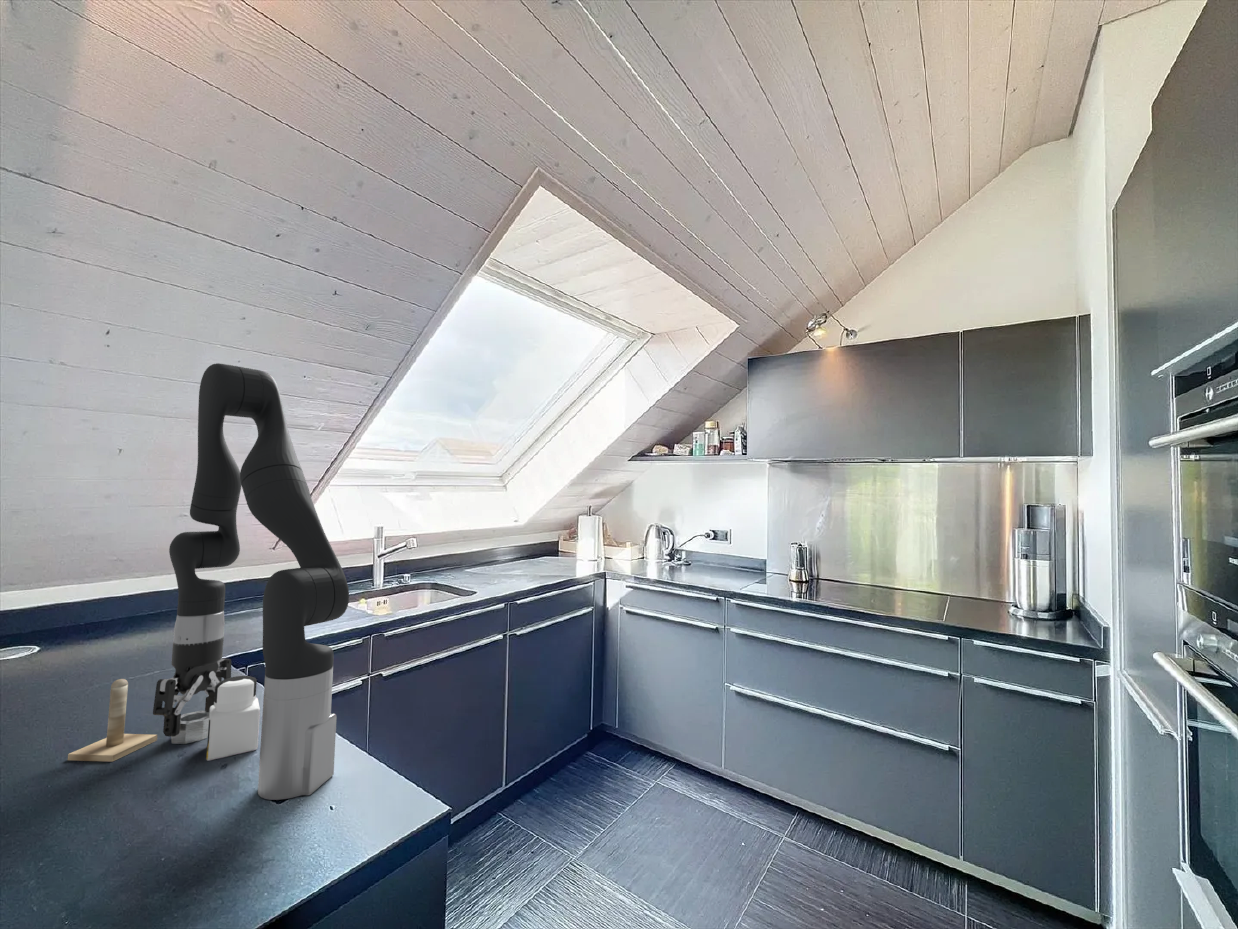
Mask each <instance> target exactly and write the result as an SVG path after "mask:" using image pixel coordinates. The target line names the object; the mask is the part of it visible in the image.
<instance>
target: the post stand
mask: <svg viewBox="0 0 1238 929" xmlns="http://www.w3.org/2000/svg"><path fill="white" fill-rule="evenodd" d="M128 689H129V682H128V680H126V679H125V678H120V679H115V680H114V681H113V682H112V683H111V686H110V691H109V692H110V694H109V705H108V706H109V707H108V715H107V716H108V720H107V729H106V737H105V738H103V739H100V740H98V741H95V742H93V743H91V744H88V745H86V746H84V747H82V748H79V749H76V750H73V751H72V752H70V753H68V754H67V761H78V762H79V761H81V762H83V761H84V762H114V761H117V760H119V759H121V758H123V757H126V756H127V755H129V754H131V753H135V752H136V751H139V750H140V749H142V748H144V747H146V746H148V745H151V744H152V743H155V742H157V741H158V734H146V733H144V734H143V733H136V734H135V733H125V725H126V714H127V713H126V712H127V701H128Z"/></svg>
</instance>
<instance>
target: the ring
mask: <svg viewBox="0 0 1238 929" xmlns="http://www.w3.org/2000/svg"><path fill="white" fill-rule="evenodd" d="M209 712H210V711H205V710H198V711H192V712H187V713H184V714H183V713H182V714H181V720H180V733H179V734H178V735H176V736H174V737H171V736H170V737H171V744H178V745H179V744H181V745H186V744H190V743H195V742H200V741H203V740H204V739H208V727H209Z"/></svg>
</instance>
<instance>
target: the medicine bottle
mask: <svg viewBox="0 0 1238 929" xmlns="http://www.w3.org/2000/svg"><path fill="white" fill-rule="evenodd" d="M257 680H258V679H257V678H256V677H253V676H250V675H237V676H231V678H228V679H225V680H224V679H223V680H222V681H221V682H219V683H218V684H217V685H216V686H215V698H214V705H212V706H211V707H210V712H209V727H208V737H207V743H206V745H207V746H206V761H215V760H216V759H217V760H218V759H223V758H227V757H231V756H235V755H240V754H244V753H249V752H253V751H256V750H258V746H259V734H260V733H259V730H260V716H261V715H260V714H261V713H260V712H261V707H260V703H259V698H258V697H257V684H258V683H257V682H258V681H257Z"/></svg>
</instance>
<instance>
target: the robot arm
mask: <svg viewBox="0 0 1238 929" xmlns="http://www.w3.org/2000/svg"><path fill="white" fill-rule="evenodd" d="M198 391H199V392H198V408H197V411H198V413H197V415H198V416H197V417H198V418H197V464H196V467H197V468H196V475H195V482H194V486H193V487H194V488H193V492H192V497H191V503H190V508H189V516H190V518H191V519H192V520H194V521H195V522H196V523H197V522H198V523H200V524H201V523H202V524H205V525H211V526H216V527H218V530H215V531H214V530H211V531H209V530H208V531H207V530H206V531H185V532H180V533H179V534H176V536H175V537H174V538H173V539H172V540H171V543H170V544H169V550H168V552H169V557H170V561H171V564H172V568H173V570H174V574H175V578H176V583H177V584H176V585H177V590H178V591H177V593H178V597H177V608H176V609H177V610H176V618H175V619H176V620H175V623H174V627H173V637H172V638H173V640H172V652H171V653H172V654H171V662H170V663H171V664H170V665H171V666H172V667H173V668H174V670H175V671H174V674H173V677H171V678H168V679H167V678H166V679H165V678H161V679H158V680H157V681H156V687H155V694H154V699H153V700H154V702H153V709H152V715H154V716H163V717H164V718H163V729H162V732H163V735H164V736H165V737H174V736H176V735H178V734H179V733H180V720H181V715H182V713H181V712H182V710H183V709H184V706H185V705H186V703H188V702H190V700H192V697H193V696H194V695H197V694H198V693H199V692H204V693H205V694H206V696H205V704H204V705H205V707H204V711H210V707H211V706H212V705H214V698H215V686H216V685H217V684H218V683H219V682H221V681H223V680H225V679H228V678H231V677H232V659H231V658H223V655H224V654H223V653H224V638H225V626H226V625H225V623H226V622H225V621H226V620H225V604H226V603H225V602H226V584H225V582H223V581H220V580H215V579H206V578H205V579H204V578H199V577H198V575H197V574H196V570H197V569H199V570H200V569H212V568H213V569H214V568H224V567H228V566H230V565H232V564H234V563H235V562H236V560H237V559H238V558H239V556H240V553H241V552H240V551H241V547H240V540H239V534H238V528H237V527H238V526H237V511H238V506H239V500H240V497H241V496H240V495H241V492H243V494H244V498H245V502H246V504H247V507H248V509H249V511H250V513H251V514H252V515H253V517H254V518H255V519H256V520H257V521H258V522H259V523H260V524H261V525H262V526H263V527H265V529H266V530H268V531H269V532H270V533H271V534H273V535H274V536H275V538H277V539H279V540H280V541H281V542H283V544H284V545H285V546H286V547H287V548H288V549H289V551H291V552H292V554H293V556H294V558H295V559H296V562H298V565H299V567H295V568H286V569H281V570H278V571H275V572H274V573H273V574H272V575H271V576H270V577H269V579H268V580H267V583H266V585H265V586H264V587H265V588H264V591H263V596H262V597H263V598H262V654H263V659H264V661H263V662H264V669H265V670H264V686H263V698H262V699H263V700H262V702H263V703H262V717H261V734H260V746H259V747H260V748H259V762H258V763H259V764H258V766H259V768H258V781H257V782H258V783H257V795H258V796H259V797H260V798H262V799H265V800H270V801H271V800H273V801H275V800H276V801H279V800H287V799H292V798H297V797H299V796H310V795H312V794H313V793H314V792H316V790H318V789H319V788H320V787H321V786H322V785H323V784H325V783H326V782H327V781H328V780H329V779H331V777H332V776H334V774H335V772H334V771H335V758H336V757H335V756H336V754H335V752H336V734H337V714H336V713H332V698H333V697H332V694H333V679H334V673H333V672H334V657H335V656H334V655H335V654H334V650H333V648H332V647H330V646H329V645H325V644H319V643H311V642H308V641H307V640H306V634H305V631H306V630H305V627H307V626H312V625H317V624H323V623H327V622H331V621H334V620H338V619H339V618H341V617H342V616H343V615H344V614H345V613H346V610H347V609H348V606H349V602H350V590H349V589H350V588H349V585H348V581H347V578H346V575H345V572H344V569H343V568H342V566H341V563H340V561H339V560H338V556H336V553H335V552H334V549H333V547H332V544H331V543H330V541H329V539H328V537H327V535H326V533H325V531H324V530H325V529H323V526H322V523H321V520H320V518H319V516H318V513H317V510H316V508H315V504H314V502H313V500H312V496H311V492H310V489H309V486H308V483H307V481H306V477H305V474H304V472H303V469H302V466H301V465H300V464H301V463H300V461H299V459H298V457H297V453H296V451H295V448H294V444H293V442H292V438H291V435H290V432H289V428H288V425H287V420H286V414H285V411H284V407H283V400H282V398H281V393H280V389H279V386H278V384H277V382H276V379H275V378H274V377H273V376H272V375H271V374H270V373H268V372H266V371H264V370H260V369H256V368H255V369H253V368H250V367H244V366H237V365H231V364H225V363H213V364H210V365H209V366H208V367H207V368H206V369H205V371H204V372H203V374H202V376H201V380H200V385H199V390H198ZM226 416H228V417H237V418H247V419H248V418H249V419H251V420H253V422H254V423H255V425H256V429H257V439H256V440H255V442H254V445H253V446H252V447H251V450H250V451H249V452H248V455H247V456H246V457H245V460H244V461H243V462H242V465H241V468H240V469H239V466H238V464H237V462H236V460H235V458H234V456H233V454H232V452H231V451H230V449H229V446H228V445H227V441H226V439H225V434H224V423H225V422H224V421H225V417H226ZM222 679H223V680H222ZM179 694H181V695H179ZM163 702H164V707H163ZM174 706H175V707H174Z"/></svg>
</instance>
